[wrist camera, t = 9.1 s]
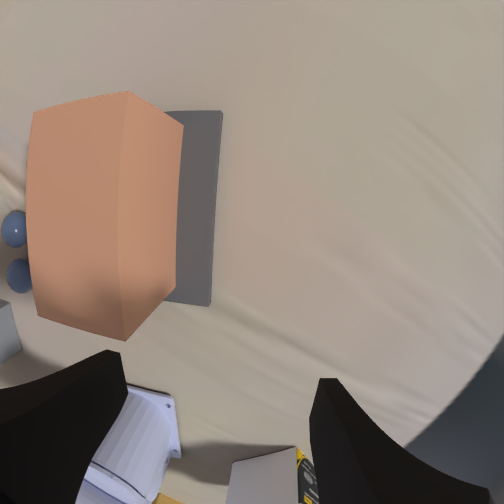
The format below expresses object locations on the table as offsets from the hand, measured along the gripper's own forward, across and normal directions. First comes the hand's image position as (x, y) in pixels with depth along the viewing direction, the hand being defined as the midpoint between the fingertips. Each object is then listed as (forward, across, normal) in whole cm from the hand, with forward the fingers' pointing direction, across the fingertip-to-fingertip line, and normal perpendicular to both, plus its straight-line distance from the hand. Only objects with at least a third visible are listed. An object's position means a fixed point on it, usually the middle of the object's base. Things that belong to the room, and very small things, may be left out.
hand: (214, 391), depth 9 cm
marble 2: (+10, +19, 0) cm, 21 cm away
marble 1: (+10, +19, -4) cm, 22 cm away
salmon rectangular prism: (+9, +7, -5) cm, 12 cm away
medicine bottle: (+10, -5, +20) cm, 23 cm away
